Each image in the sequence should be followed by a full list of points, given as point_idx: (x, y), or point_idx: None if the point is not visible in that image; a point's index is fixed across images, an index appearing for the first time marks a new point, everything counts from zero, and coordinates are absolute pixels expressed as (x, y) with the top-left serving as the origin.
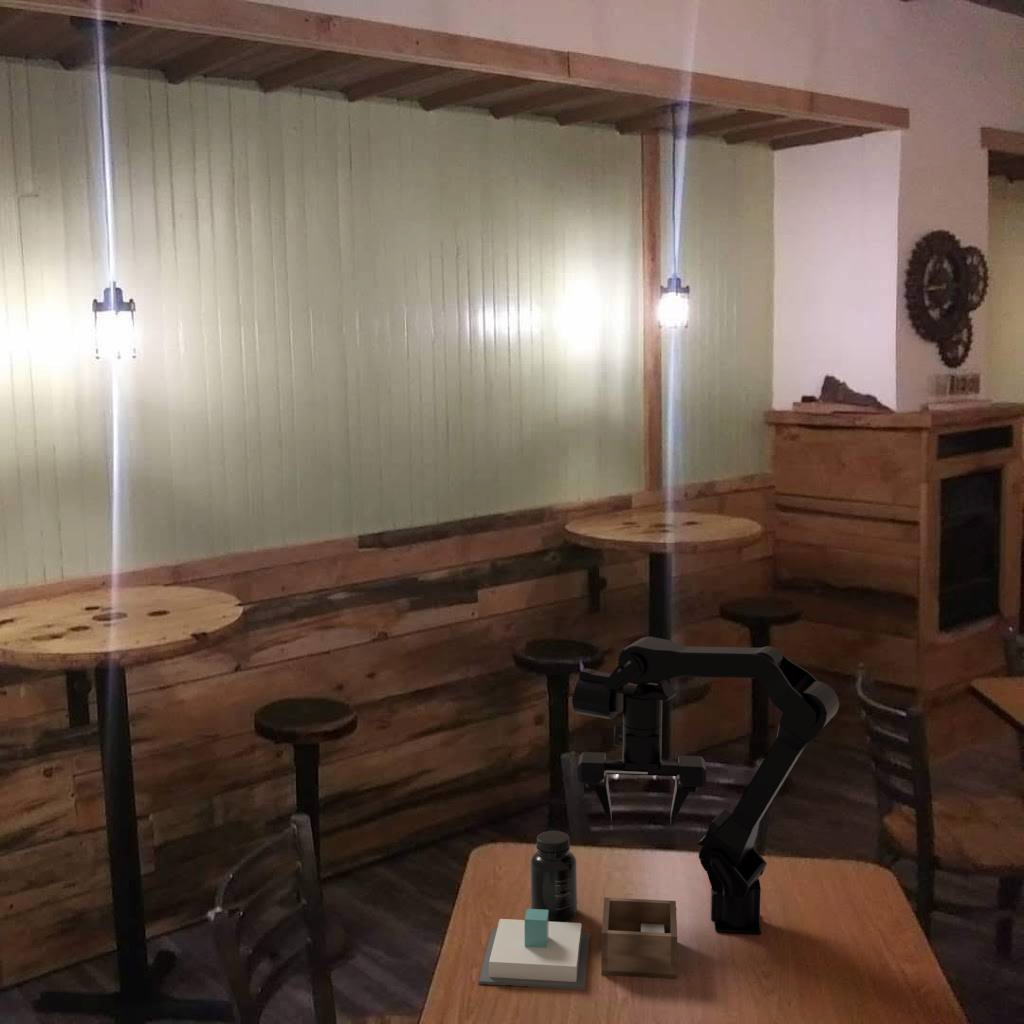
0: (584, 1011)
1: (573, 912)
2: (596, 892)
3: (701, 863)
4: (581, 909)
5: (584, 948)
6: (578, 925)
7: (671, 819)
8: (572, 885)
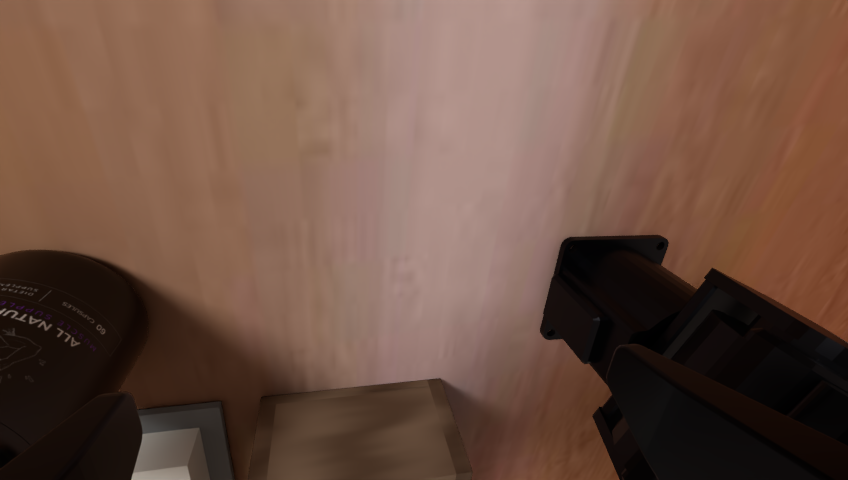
0: None
1: (138, 356)
2: (188, 147)
3: (616, 448)
4: (158, 273)
5: (218, 462)
6: (180, 475)
7: (640, 446)
8: None
